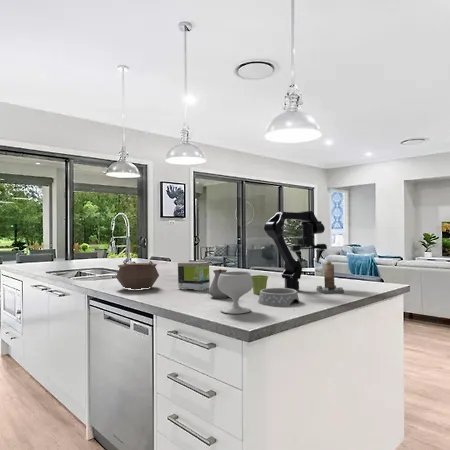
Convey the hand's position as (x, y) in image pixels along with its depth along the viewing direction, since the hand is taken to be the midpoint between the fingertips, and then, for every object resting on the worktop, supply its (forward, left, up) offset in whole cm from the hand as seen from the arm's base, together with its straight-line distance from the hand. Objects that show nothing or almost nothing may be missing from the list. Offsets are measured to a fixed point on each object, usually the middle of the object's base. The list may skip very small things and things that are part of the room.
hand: (309, 263), depth 204 cm
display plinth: (+5, -15, -13) cm, 20 cm away
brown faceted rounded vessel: (-92, +24, -13) cm, 96 cm away
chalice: (-49, -48, -13) cm, 70 cm away
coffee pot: (-51, -20, -13) cm, 56 cm away
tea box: (-61, +15, -14) cm, 64 cm away
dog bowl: (-27, -34, -14) cm, 46 cm away
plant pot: (-30, -10, -13) cm, 34 cm away
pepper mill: (+5, -15, -12) cm, 19 cm away
